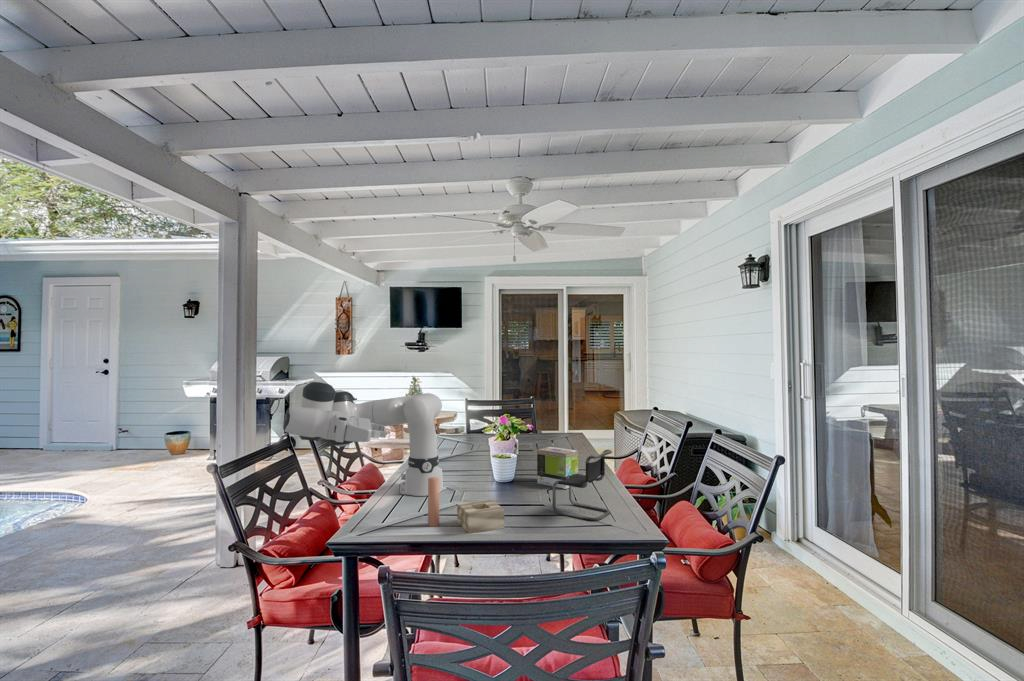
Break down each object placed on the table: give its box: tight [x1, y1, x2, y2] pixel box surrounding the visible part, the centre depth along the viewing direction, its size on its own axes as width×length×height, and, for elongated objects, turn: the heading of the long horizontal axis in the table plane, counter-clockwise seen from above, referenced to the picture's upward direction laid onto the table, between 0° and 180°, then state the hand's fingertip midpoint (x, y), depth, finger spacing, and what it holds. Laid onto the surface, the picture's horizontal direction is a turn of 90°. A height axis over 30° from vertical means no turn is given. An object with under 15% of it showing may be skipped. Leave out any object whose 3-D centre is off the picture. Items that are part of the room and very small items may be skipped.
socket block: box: [456, 499, 505, 534], centre depth 168 cm, size 12×12×6 cm
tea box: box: [536, 446, 579, 490], centre depth 219 cm, size 15×10×15 cm, turn 49°
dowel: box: [427, 477, 440, 528], centre depth 169 cm, size 4×4×15 cm
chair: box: [552, 449, 613, 522], centre depth 181 cm, size 13×17×22 cm
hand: (385, 431), depth 163 cm, fingers open, 8 cm apart
